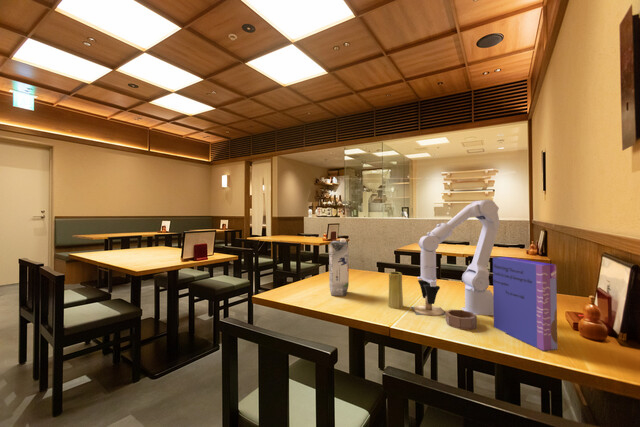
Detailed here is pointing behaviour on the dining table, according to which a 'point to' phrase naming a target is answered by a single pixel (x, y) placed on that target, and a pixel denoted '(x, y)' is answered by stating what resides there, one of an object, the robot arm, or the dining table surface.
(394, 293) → the vase
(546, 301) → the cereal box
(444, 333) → the dining table surface
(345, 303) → the dining table surface
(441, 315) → the mat
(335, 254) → the juice carton
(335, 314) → the dining table surface
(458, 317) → the bowl
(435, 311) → the lid
